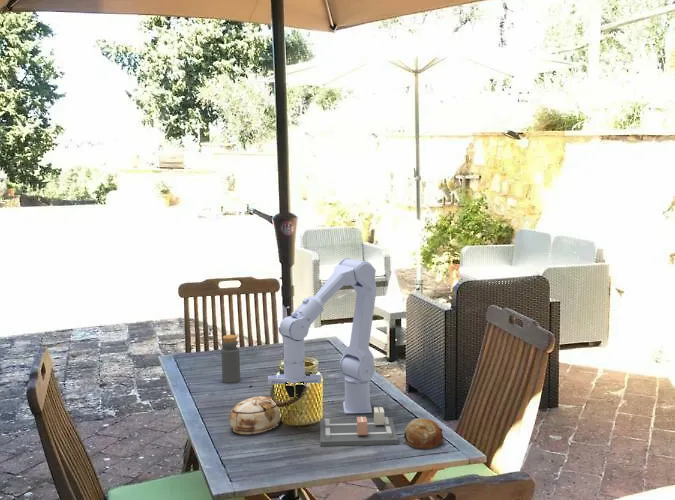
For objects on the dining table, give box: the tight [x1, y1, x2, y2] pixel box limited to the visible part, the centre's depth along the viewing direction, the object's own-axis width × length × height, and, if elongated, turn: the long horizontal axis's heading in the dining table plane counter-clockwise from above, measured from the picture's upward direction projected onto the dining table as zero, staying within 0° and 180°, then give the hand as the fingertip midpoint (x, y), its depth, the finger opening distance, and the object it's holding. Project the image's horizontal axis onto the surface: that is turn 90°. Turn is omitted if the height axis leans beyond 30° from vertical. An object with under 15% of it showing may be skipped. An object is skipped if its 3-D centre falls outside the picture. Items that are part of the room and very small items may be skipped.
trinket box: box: [229, 395, 281, 435], centre depth 212 cm, size 13×15×8 cm
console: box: [319, 416, 399, 447], centre depth 205 cm, size 16×20×2 cm
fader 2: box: [373, 406, 385, 425], centre depth 209 cm, size 4×2×4 cm, turn 2°
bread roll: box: [403, 418, 444, 450], centre depth 199 cm, size 10×10×8 cm
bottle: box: [220, 334, 241, 384], centre depth 253 cm, size 6×6×15 cm
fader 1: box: [356, 416, 367, 435], centre depth 201 cm, size 4×2×4 cm, turn 2°
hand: (295, 408), depth 211 cm, fingers closed
